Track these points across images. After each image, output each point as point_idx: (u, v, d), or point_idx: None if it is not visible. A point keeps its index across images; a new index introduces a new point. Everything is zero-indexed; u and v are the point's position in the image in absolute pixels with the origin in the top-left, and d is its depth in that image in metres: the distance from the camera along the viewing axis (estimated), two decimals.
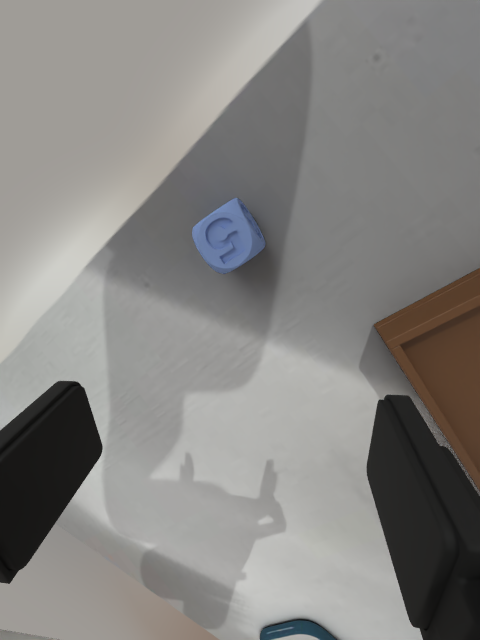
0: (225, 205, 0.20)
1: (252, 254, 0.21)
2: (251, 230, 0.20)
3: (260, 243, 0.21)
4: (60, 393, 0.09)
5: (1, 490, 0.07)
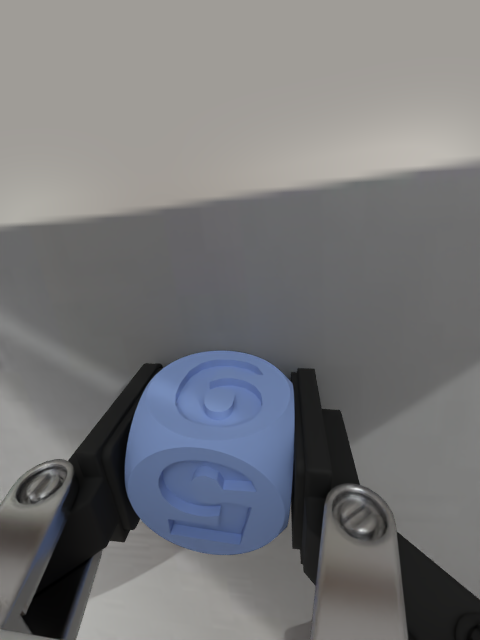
0: (263, 437, 0.07)
1: None
2: (285, 524, 0.07)
3: None
4: (150, 374, 0.10)
5: (123, 455, 0.07)
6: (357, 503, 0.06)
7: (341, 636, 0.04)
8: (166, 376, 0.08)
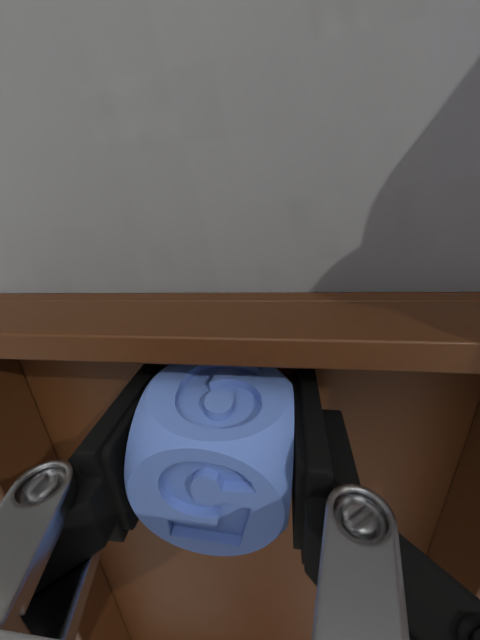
0: (262, 438, 0.07)
1: None
2: (285, 526, 0.07)
3: None
4: (150, 374, 0.10)
5: (122, 456, 0.07)
6: (359, 504, 0.06)
7: (343, 637, 0.04)
8: (166, 377, 0.08)
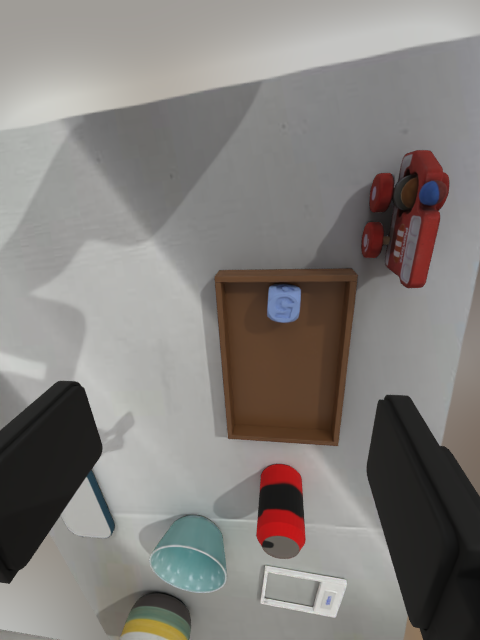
0: (295, 293, 0.36)
1: (291, 321, 0.38)
2: (299, 311, 0.37)
3: (297, 318, 0.38)
4: (60, 393, 0.09)
5: (1, 490, 0.07)
6: None
7: None
8: (272, 286, 0.38)
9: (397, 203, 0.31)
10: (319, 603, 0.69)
